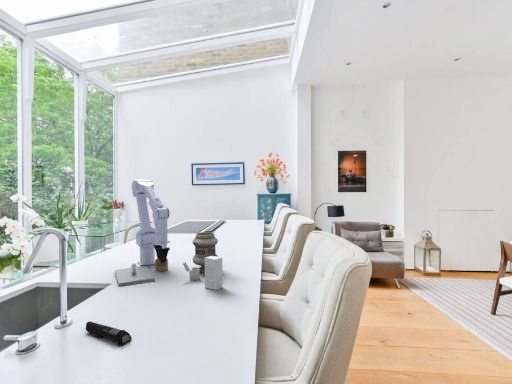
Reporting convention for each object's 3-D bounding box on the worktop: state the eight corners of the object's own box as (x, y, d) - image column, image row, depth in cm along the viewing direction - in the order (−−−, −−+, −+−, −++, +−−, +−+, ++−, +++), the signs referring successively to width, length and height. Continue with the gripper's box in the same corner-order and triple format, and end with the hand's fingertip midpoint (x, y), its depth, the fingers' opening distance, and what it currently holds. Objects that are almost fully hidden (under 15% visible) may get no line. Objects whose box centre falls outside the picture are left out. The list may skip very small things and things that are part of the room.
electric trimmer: (94, 329, 85) (94, 318, 85) (133, 340, 78) (132, 328, 78) (82, 335, 82) (81, 323, 82) (120, 348, 75) (120, 335, 75)
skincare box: (223, 287, 118) (222, 257, 118) (216, 290, 115) (216, 259, 114) (211, 284, 122) (210, 255, 121) (204, 287, 118) (204, 257, 118)
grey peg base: (114, 272, 139) (114, 259, 139) (146, 268, 146) (146, 256, 146) (118, 286, 120) (118, 271, 120) (154, 280, 127) (154, 267, 126)
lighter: (199, 278, 130) (199, 260, 130) (199, 279, 128) (199, 261, 128) (182, 279, 128) (182, 261, 128) (182, 281, 126) (182, 262, 126)
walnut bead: (154, 269, 144) (154, 258, 144) (166, 267, 147) (166, 257, 147) (156, 271, 140) (156, 261, 140) (168, 270, 142) (168, 259, 142)
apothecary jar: (187, 272, 139) (187, 233, 139) (203, 266, 150) (203, 230, 149) (208, 275, 133) (208, 235, 133) (223, 269, 144) (223, 232, 144)
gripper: (173, 233, 139) (173, 263, 139) (166, 230, 151) (166, 256, 152) (157, 235, 135) (157, 265, 135) (151, 231, 148) (152, 258, 148)
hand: (161, 260), depth 143 cm, fingers open, 7 cm apart
